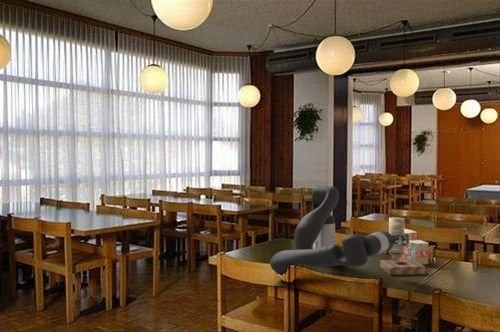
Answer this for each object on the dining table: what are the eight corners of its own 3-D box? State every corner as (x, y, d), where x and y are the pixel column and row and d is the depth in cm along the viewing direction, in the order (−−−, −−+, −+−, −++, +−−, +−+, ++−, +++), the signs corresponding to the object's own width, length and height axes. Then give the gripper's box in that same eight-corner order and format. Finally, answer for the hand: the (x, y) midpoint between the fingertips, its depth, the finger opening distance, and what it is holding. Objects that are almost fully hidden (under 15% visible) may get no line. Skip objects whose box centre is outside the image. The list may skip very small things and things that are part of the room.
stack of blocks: (428, 264, 201) (428, 235, 201) (415, 265, 200) (415, 236, 200) (404, 253, 222) (404, 227, 222) (392, 254, 221) (392, 228, 221)
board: (390, 275, 184) (390, 267, 184) (380, 267, 196) (380, 260, 196) (425, 274, 185) (425, 266, 185) (413, 266, 197) (413, 259, 197)
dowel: (391, 262, 177) (391, 219, 176) (386, 258, 183) (386, 217, 182) (406, 262, 177) (406, 219, 176) (401, 258, 183) (401, 217, 182)
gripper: (360, 250, 174) (382, 243, 186) (397, 256, 164) (417, 248, 177) (360, 230, 174) (382, 224, 186) (397, 234, 164) (417, 228, 176)
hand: (399, 235), depth 181 cm, fingers closed on dowel, 5 cm apart
